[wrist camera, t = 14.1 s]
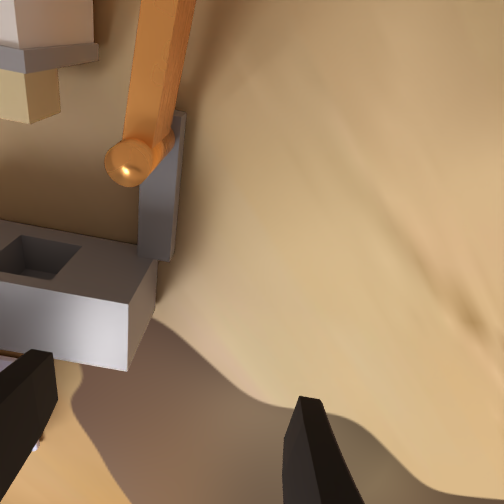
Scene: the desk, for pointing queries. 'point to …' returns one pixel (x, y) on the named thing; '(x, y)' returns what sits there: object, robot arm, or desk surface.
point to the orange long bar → (152, 90)
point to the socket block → (90, 278)
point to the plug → (41, 53)
